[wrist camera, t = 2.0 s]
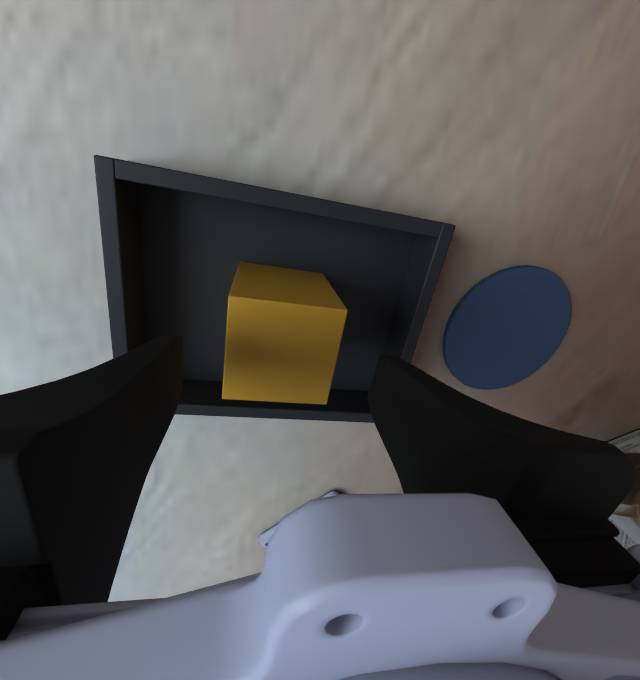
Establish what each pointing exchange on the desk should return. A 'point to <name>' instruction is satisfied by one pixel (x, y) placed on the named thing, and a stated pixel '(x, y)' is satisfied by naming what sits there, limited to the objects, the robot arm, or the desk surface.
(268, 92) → the desk surface
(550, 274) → the coaster
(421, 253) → the tray
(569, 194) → the desk surface
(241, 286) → the block
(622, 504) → the coffee box
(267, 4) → the desk surface
